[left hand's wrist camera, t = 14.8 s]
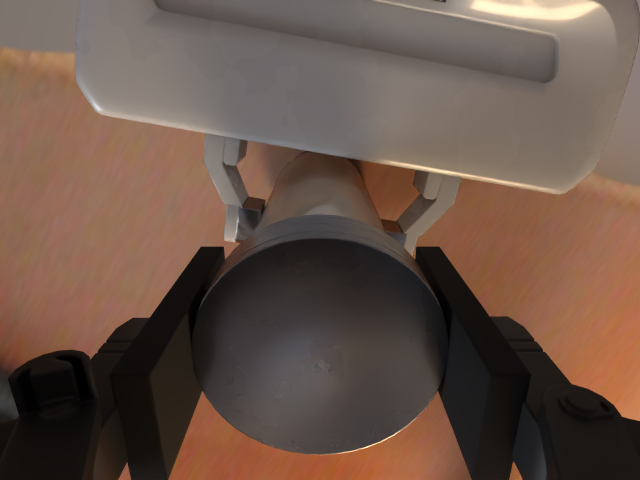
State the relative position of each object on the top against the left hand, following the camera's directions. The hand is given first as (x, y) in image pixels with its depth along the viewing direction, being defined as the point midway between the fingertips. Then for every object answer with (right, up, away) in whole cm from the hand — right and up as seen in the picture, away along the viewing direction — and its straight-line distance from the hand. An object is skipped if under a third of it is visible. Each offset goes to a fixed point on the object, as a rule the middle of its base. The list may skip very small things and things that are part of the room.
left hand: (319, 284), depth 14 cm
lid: (0, -1, -4) cm, 4 cm away
